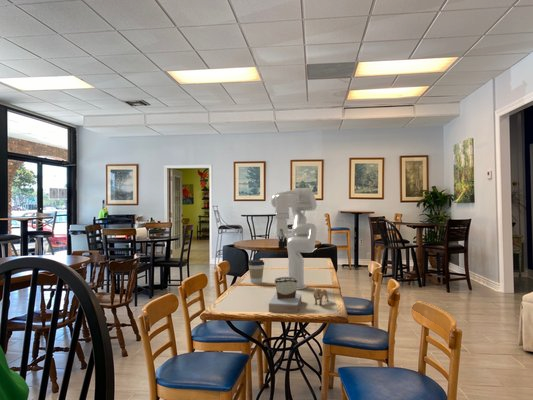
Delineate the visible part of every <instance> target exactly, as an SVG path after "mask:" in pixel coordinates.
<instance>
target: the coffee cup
mask: <svg viewBox="0 0 533 400" xmlns="http://www.w3.org/2000/svg"><path fill="white" fill-rule="evenodd" d="M247 265H248V270H249V277H250V283H251V284H252V283H253V285H258V284H262V282H263V278H264V277H263V276H264V267H265V261H264V260H263V259H255V258H254V259H249V261H248V262H247Z"/></svg>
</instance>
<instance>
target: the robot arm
mask: <svg viewBox="0 0 533 400" xmlns="http://www.w3.org/2000/svg"><path fill="white" fill-rule="evenodd" d="M270 202H271V206H272V207H273V208H275V220H276V238H277V239H278V242H277V243H278V249H279V250H285V248H286V249H287V255H288V261H287V262H288V277H293V278H297V280H298V283H297V287H296V291H298V290H305V289H307V284H305V264H304V261H305V259H304V257H303V256H302V254H301V253H307V254H308V253H309V254H310V253H313V252H314V251H315V247H316V241H317V239H316V238H317V226H316V225H315V224H314V223H309V222H307V216H306V215H305V214H304V213H303V212H311V211H313V212H314V211H315V210H316V209H317V205H318V204H317V200H316V197H315V194H314V192H313V190H312V189H311V188H310V187H297V188H296V187H295V188H293V189H291V190H287V191H282V192H277V193H275V194H273V195H272V197H271V199H270ZM290 208H291V213H292V216H293V217H292V218H293V222H292V227H291V236H292V237H289V238H288V229H289V228H288V220H290Z"/></svg>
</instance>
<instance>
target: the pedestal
mask: <svg viewBox="0 0 533 400" xmlns="http://www.w3.org/2000/svg"><path fill="white" fill-rule="evenodd" d="M301 303H302V293H296V299H277V292H276V293H275V292H274V295H273V296H272V298H271V299H270V301H269V302H268V312H270V313H288V314H289V313H291V314H293V313H294V314H298V312H299V309H300V307H301Z"/></svg>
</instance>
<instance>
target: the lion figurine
mask: <svg viewBox="0 0 533 400" xmlns="http://www.w3.org/2000/svg"><path fill="white" fill-rule="evenodd" d="M313 298H314V301H315V303H314V305H315V306H316V305H318V303H319V306H322V305H323V304H322V301H323V298H324V300H325V301H326V302H329V296H328V292H327V290H326V289H324V288H323V289H320V288H319V287H318V288H315V289H314V291H313Z"/></svg>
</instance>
